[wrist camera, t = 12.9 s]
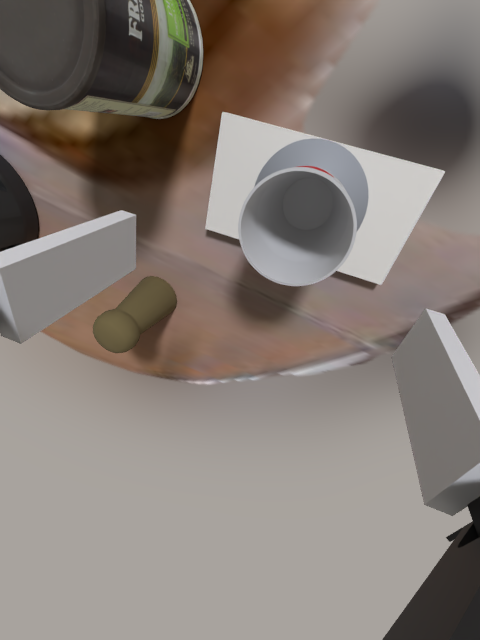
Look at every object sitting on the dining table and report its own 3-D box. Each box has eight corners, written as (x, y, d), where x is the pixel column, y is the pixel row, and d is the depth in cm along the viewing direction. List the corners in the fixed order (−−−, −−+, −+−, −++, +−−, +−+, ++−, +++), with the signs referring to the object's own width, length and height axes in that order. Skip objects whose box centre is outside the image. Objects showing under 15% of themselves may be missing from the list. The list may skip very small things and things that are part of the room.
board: (209, 225, 34) (204, 229, 33) (226, 112, 28) (221, 111, 27) (380, 280, 32) (381, 286, 31) (441, 170, 25) (446, 171, 24)
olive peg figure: (169, 321, 44) (125, 369, 35) (134, 300, 43) (80, 343, 34) (182, 291, 40) (136, 336, 31) (144, 268, 40) (87, 306, 31)
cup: (371, 200, 27) (385, 228, 19) (307, 261, 31) (295, 305, 23) (306, 135, 26) (291, 136, 18) (250, 209, 30) (217, 236, 22)
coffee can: (167, -68, 23) (-10, -272, 11) (222, 84, 27) (132, 47, 15) (82, 19, 27) (-106, -64, 16) (140, 138, 31) (24, 141, 20)
